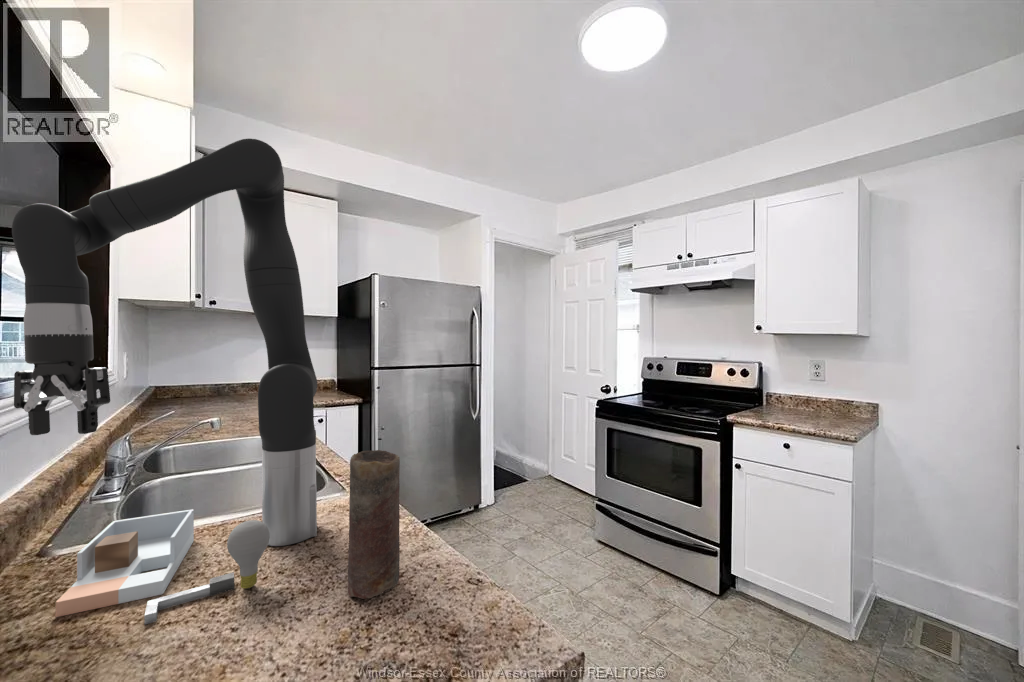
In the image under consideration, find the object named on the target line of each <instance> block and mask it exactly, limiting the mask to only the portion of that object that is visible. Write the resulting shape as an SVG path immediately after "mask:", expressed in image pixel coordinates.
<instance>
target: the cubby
mask: <svg viewBox="0 0 1024 682" xmlns="http://www.w3.org/2000/svg"><path fill="white" fill-rule="evenodd" d="M194 511H195V510H194V509H193V508H191V509H186V510H180V511H179V510H178V511H171V512H165V513H159V514H151V515H145V516H138V517H131V518H130V517H129V518H125V519H118V520H112V522H111V523H109V524H108V525H107V526H106V527H105V528H103V530H101V531H100V532H99V533H98V534H97V535H96V536H94V538H93V539H92V540H90V541H89V542H88V543H87V544H86V545H84V547H82V548H81V549H80V551H78V552H77V553H76V564H77V565H76V578H77V580H76V581H75V582H73V584H72V585H71V586H70V587H69V588H68V589H67V590H65V592H64V593H63V594H62V595H61V596H60V597H59V598H58V599H57V600H56V601H55V614H54V615H55V618H58V617H64V616H68V615H72V614H77V613H81V612H86V611H91V610H96V609H100V608H105V607H110V606H114V605H119V604H124V603H127V602H129V603H130V602H132V601H137V600H141V599H146V598H150V597H151V598H152V597H157V596H161V595H163V594H164V593H165V591H166V589H167V588H168V587H169V584H170V582H171V581H172V579H173V578H174V576H175V574H176V572H177V571H178V569H179V567H180V565H181V564H182V562H183V560H184V559H185V557H186V555H187V553H188V551H189V550H190V549H191V547H192V544H193V543H194V541H195V539H194V537H195V535H194V533H195V532H194V531H195V529H194V528H195V524H194V523H195V522H194V521H195V520H194V519H195V518H194V517H195V516H194V515H195V514H194ZM137 531H138V556H137V557H136V558H135V560H134V561H133V562H132V563H131V565H130V566H129V567H125V568H119V569H114V570H109V571H103V572H98V573H95V546H96V545H97V544H98V543H100V542H101V541H102V540H103V539H104V538H105V537H106V536H112V535H118V534H124V533H130V532H137Z"/></svg>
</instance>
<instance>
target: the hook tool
mask: <svg viewBox="0 0 1024 682" xmlns="http://www.w3.org/2000/svg"><path fill="white" fill-rule="evenodd" d="M234 590H235V573H234V572H229V573H226V574H222V575H218V576H214V577H212V578H209V583H208V584H207V583H206V584H204V585H200V586H196V587H193V588H189V589H186V590H181V591H179V592H175V593H170V594H168V595H165V596H160V597H156V598H154V599H151V600H150V599H149V600H147V603H146V606H145V611H144V612H145V613H144V615H143V616H144V618H143V619H144V621H143V622H144V626H145V625H148V624H149V625H150V624H152V623H156V622H157V619H158V614H159V611H162V610H165V609H168V608H171V607H176V606H179V605H182V604H185V603H188V602H192V601H195V600H200V599H202V598H207V597H213V596H216V595H220V594H223V593H227V592H230V591H234Z"/></svg>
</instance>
